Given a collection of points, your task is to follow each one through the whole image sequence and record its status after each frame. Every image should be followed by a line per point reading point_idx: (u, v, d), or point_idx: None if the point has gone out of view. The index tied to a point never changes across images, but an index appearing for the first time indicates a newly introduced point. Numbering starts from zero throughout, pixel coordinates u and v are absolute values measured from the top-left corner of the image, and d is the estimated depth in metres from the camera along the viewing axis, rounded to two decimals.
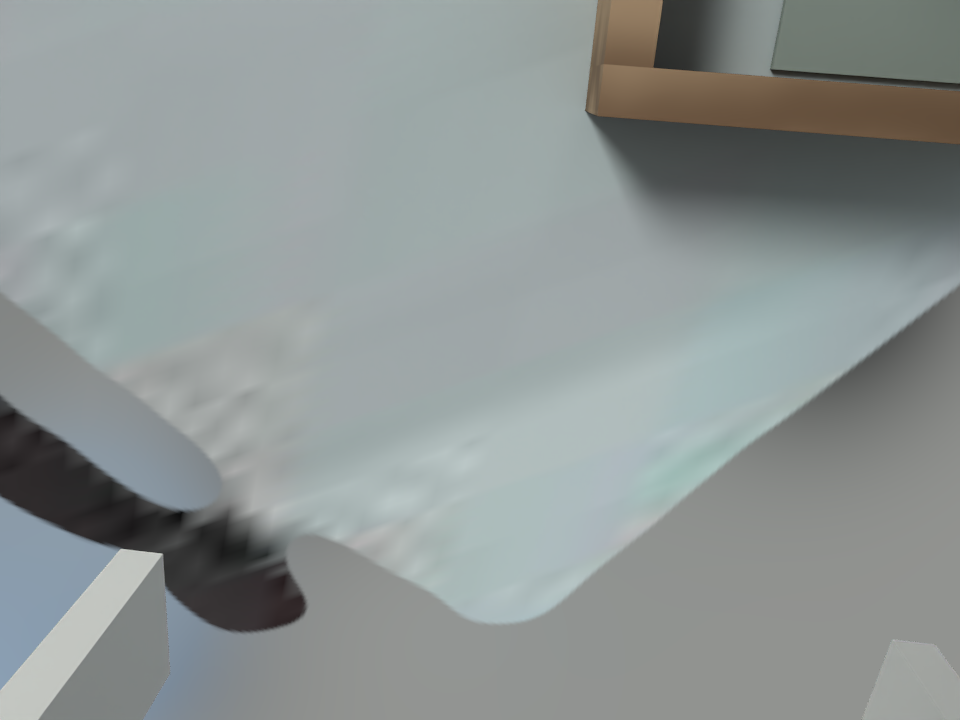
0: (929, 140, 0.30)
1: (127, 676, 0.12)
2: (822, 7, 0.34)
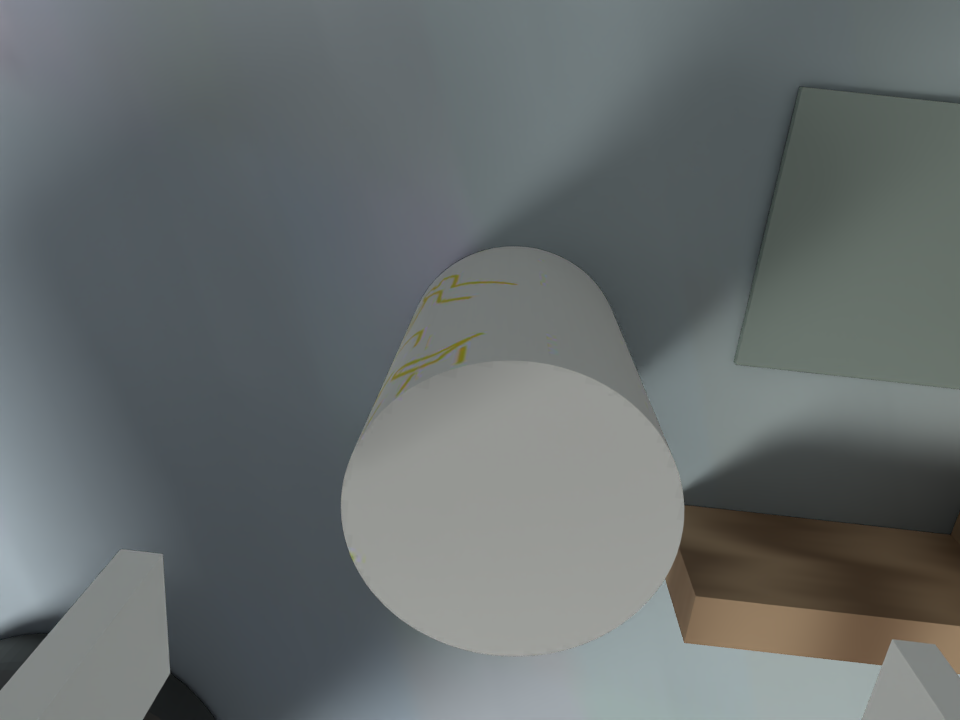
0: None
1: (127, 676, 0.12)
2: (939, 343, 0.28)
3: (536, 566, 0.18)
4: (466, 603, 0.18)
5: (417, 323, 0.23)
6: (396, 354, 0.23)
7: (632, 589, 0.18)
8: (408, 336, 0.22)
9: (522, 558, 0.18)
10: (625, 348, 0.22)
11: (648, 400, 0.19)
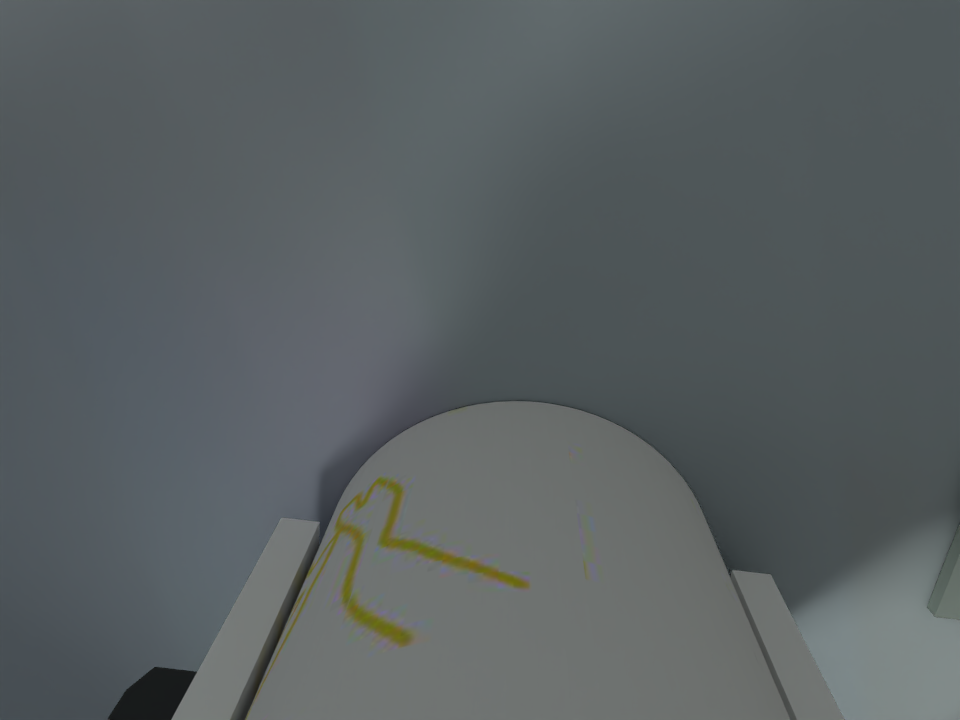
0: None
1: None
2: None
3: None
4: None
5: (290, 657, 0.10)
6: None
7: None
8: (263, 703, 0.09)
9: None
10: None
11: None
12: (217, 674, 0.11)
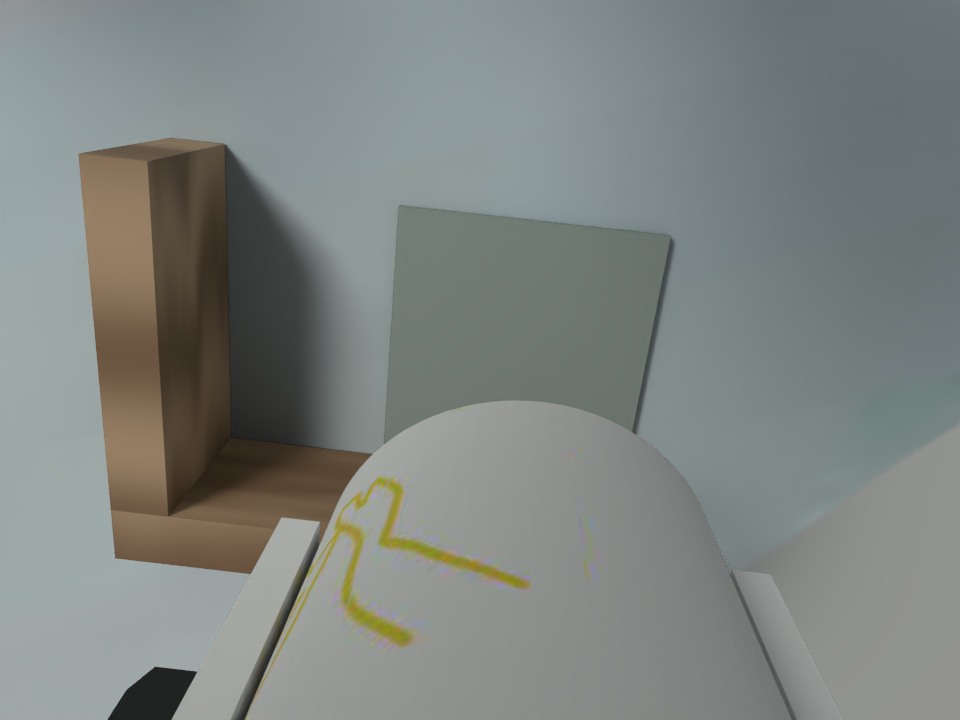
0: None
1: None
2: (429, 392, 0.30)
3: None
4: None
5: (290, 657, 0.10)
6: None
7: None
8: (262, 703, 0.09)
9: None
10: None
11: None
12: (217, 674, 0.11)
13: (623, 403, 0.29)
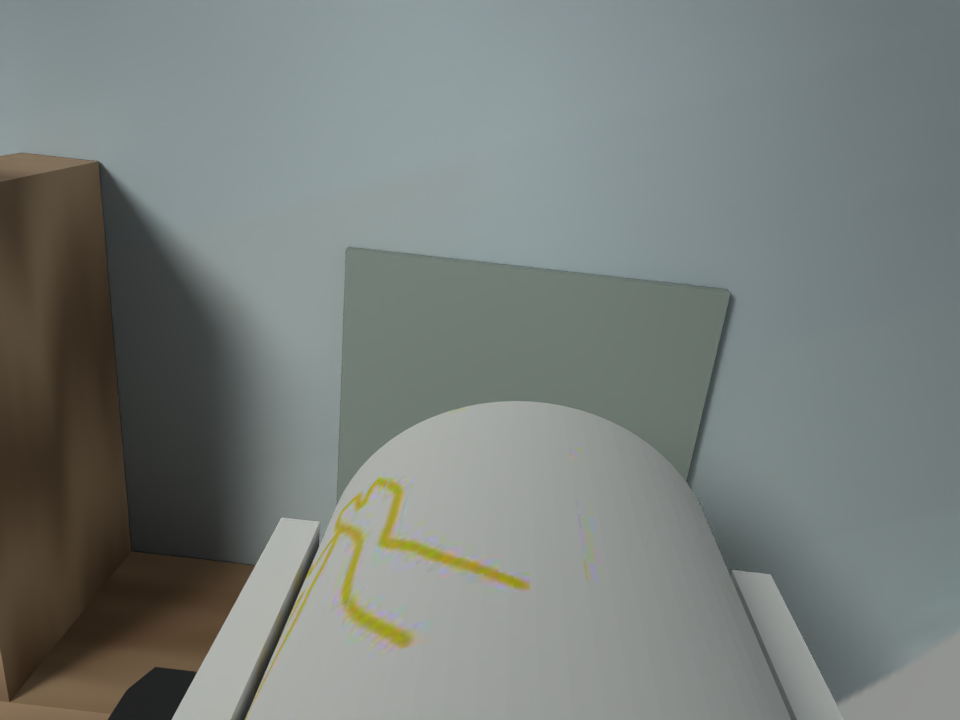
0: None
1: None
2: None
3: None
4: None
5: (290, 658, 0.10)
6: None
7: None
8: (262, 704, 0.09)
9: None
10: None
11: None
12: (217, 674, 0.11)
13: None
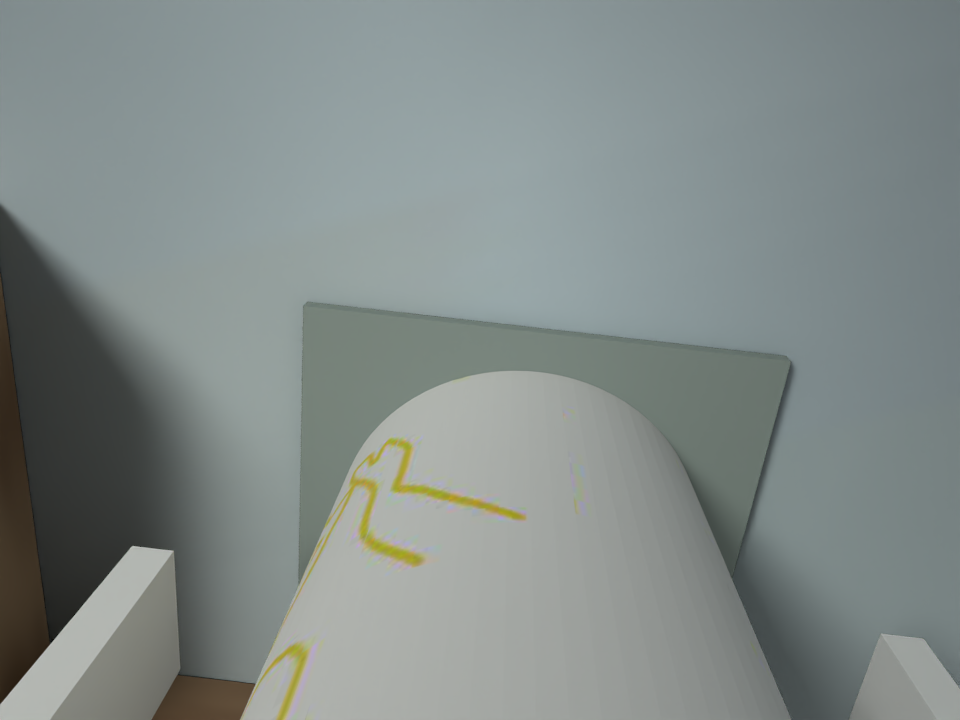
0: None
1: (139, 672, 0.12)
2: None
3: None
4: None
5: (315, 585, 0.11)
6: (269, 653, 0.11)
7: None
8: (291, 623, 0.10)
9: None
10: (761, 659, 0.10)
11: None
12: None
13: None
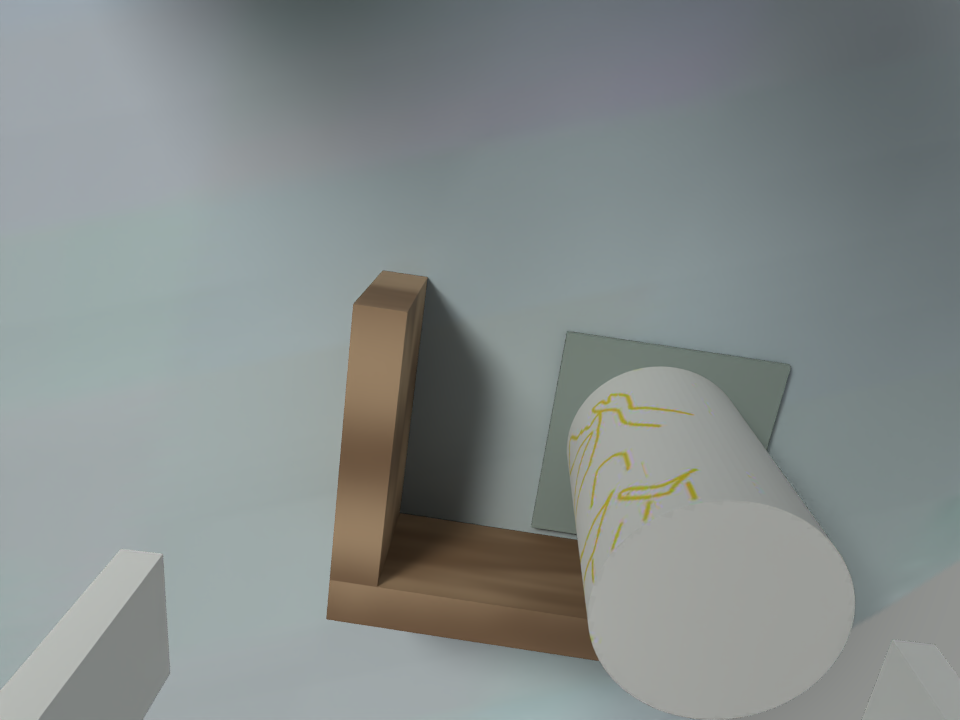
0: None
1: (127, 676, 0.12)
2: None
3: (734, 651, 0.23)
4: (675, 677, 0.24)
5: (608, 440, 0.28)
6: (591, 465, 0.28)
7: (806, 672, 0.23)
8: (604, 452, 0.28)
9: (724, 645, 0.23)
10: None
11: None
12: None
13: None
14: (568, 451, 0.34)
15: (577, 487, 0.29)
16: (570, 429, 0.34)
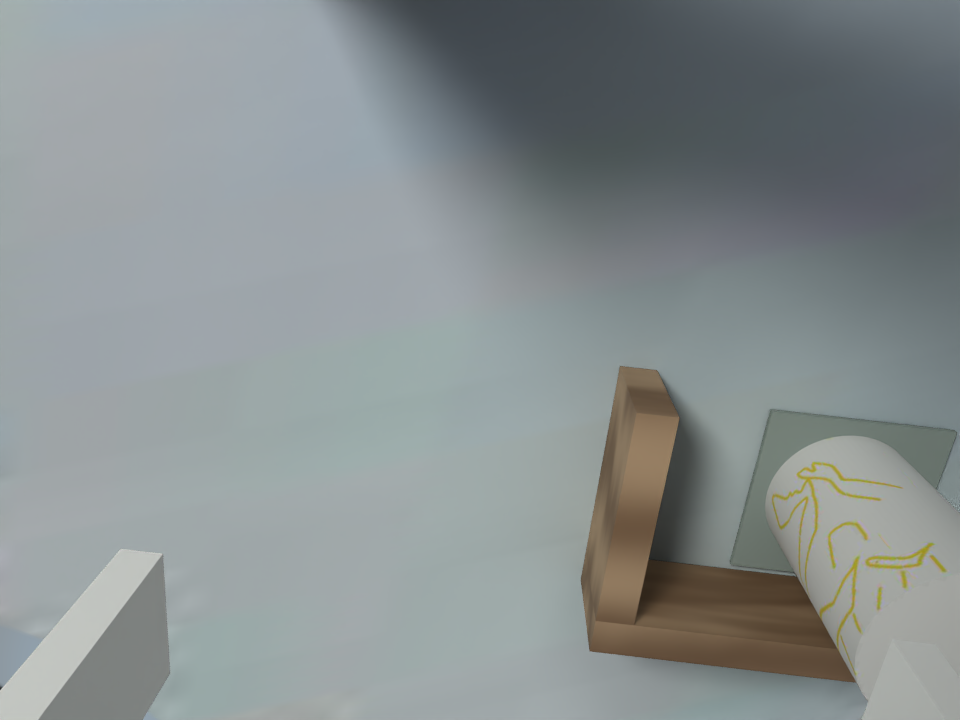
0: (846, 680, 0.39)
1: (127, 676, 0.12)
2: None
3: None
4: None
5: (832, 509, 0.36)
6: (819, 529, 0.36)
7: None
8: (831, 519, 0.35)
9: (958, 675, 0.31)
10: None
11: None
12: None
13: None
14: (771, 506, 0.41)
15: (803, 544, 0.36)
16: (770, 487, 0.41)
